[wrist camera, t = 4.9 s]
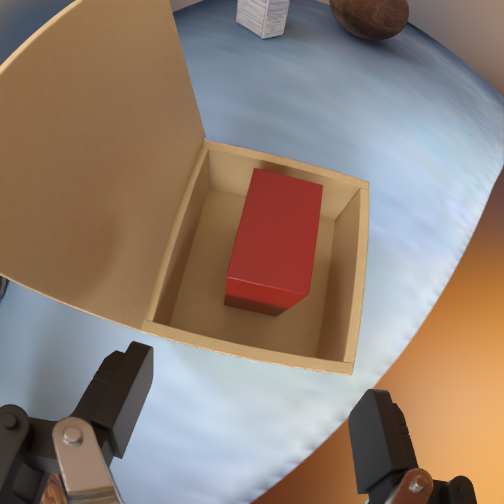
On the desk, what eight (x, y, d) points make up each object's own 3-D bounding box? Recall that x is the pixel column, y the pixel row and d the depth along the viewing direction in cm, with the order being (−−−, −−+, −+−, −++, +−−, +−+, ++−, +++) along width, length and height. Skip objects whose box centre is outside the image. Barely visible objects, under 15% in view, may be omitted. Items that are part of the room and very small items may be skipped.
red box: (223, 305, 24) (226, 276, 15) (242, 227, 26) (253, 167, 18) (277, 317, 24) (308, 295, 15) (291, 238, 26) (323, 184, 18)
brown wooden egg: (405, 53, 44) (434, 0, 30) (359, 56, 40) (388, -12, 26) (356, 16, 47) (375, -34, 33) (306, 17, 44) (322, -44, 29)
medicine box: (283, 36, 40) (292, -6, 31) (261, 40, 38) (269, -5, 30) (255, 18, 41) (261, -21, 33) (234, 22, 40) (239, -19, 32)
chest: (340, 218, 29) (369, 181, 22) (319, 371, 23) (352, 375, 17) (203, 184, 28) (201, 139, 22) (159, 337, 23) (137, 330, 17)
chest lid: (158, -45, 8) (87, -22, 9) (-90, 222, 3) (-109, 208, 3) (206, 135, 21) (153, 133, 22) (141, 331, 16) (82, 311, 17)
